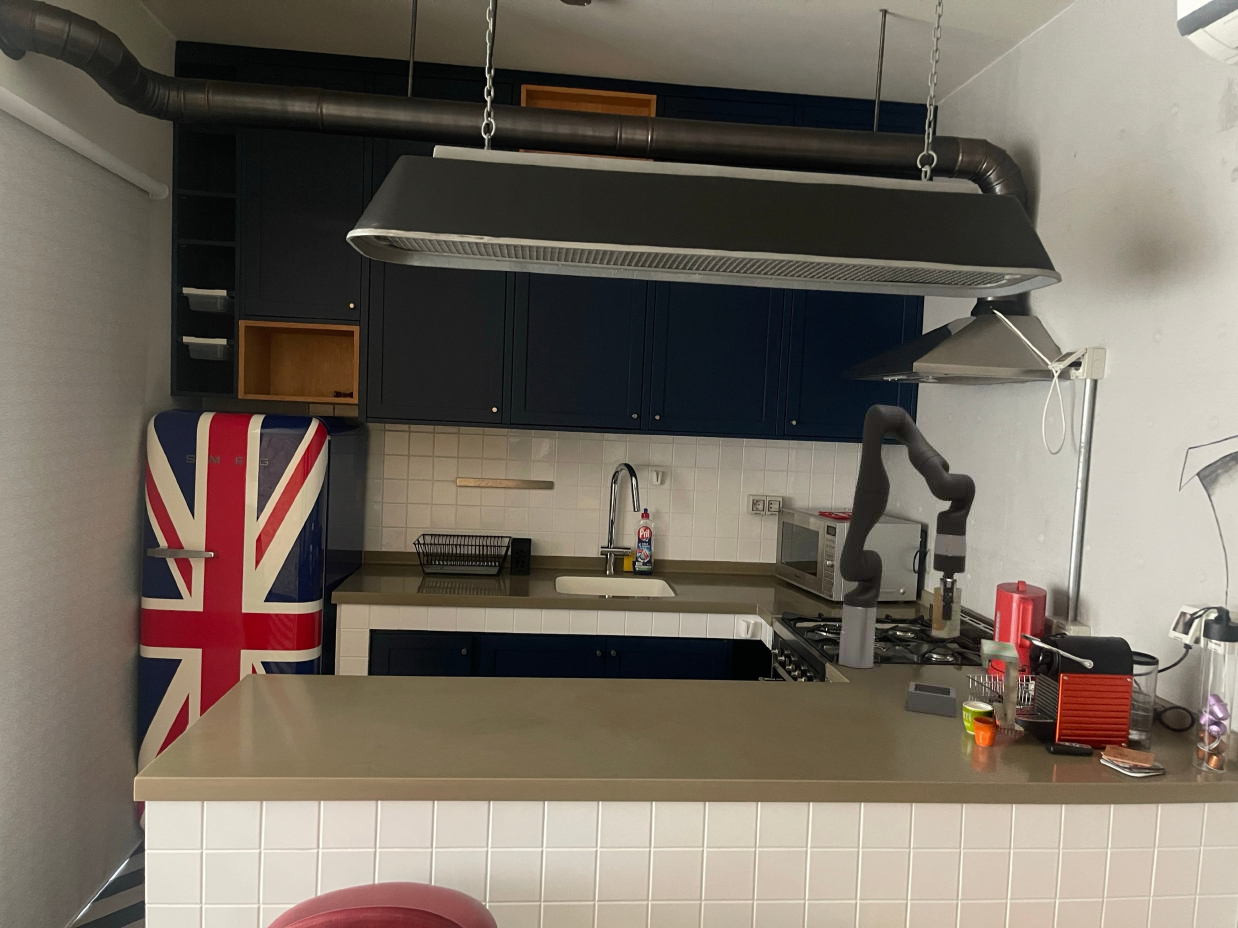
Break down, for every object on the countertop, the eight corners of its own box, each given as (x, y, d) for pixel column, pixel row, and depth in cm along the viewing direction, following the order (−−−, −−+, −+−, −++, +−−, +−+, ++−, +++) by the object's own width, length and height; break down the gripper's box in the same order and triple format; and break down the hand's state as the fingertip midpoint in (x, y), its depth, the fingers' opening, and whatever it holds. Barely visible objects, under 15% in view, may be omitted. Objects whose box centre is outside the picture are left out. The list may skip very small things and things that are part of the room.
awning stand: (979, 724, 196) (984, 652, 196) (977, 704, 213) (981, 639, 213) (1025, 731, 192) (1030, 658, 192) (1019, 710, 209) (1023, 644, 209)
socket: (907, 709, 204) (908, 690, 204) (909, 699, 214) (910, 681, 214) (954, 717, 200) (955, 697, 200) (954, 706, 210) (955, 687, 210)
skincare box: (944, 633, 221) (947, 585, 221) (960, 636, 217) (962, 588, 217) (930, 635, 217) (933, 586, 217) (946, 638, 213) (949, 589, 213)
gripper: (933, 549, 225) (930, 612, 225) (934, 553, 212) (930, 620, 212) (964, 551, 223) (961, 615, 223) (967, 556, 209) (963, 623, 209)
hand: (946, 617), depth 217 cm, fingers closed on skincare box, 7 cm apart
